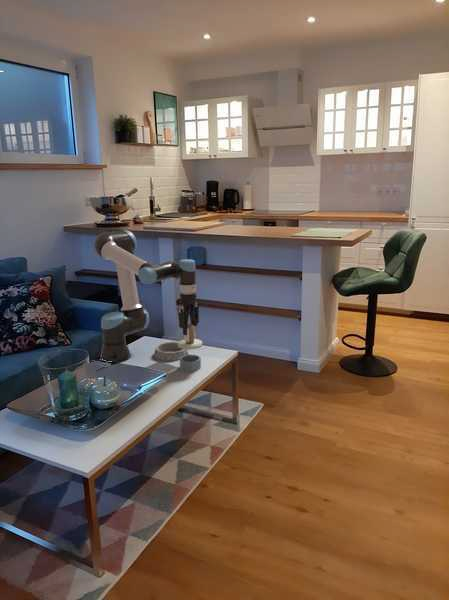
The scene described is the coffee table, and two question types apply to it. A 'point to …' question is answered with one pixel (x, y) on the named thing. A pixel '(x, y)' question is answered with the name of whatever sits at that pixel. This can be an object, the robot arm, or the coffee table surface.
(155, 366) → the mat
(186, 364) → the bowl
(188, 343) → the cover
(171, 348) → the dog bowl
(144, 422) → the coffee table surface
